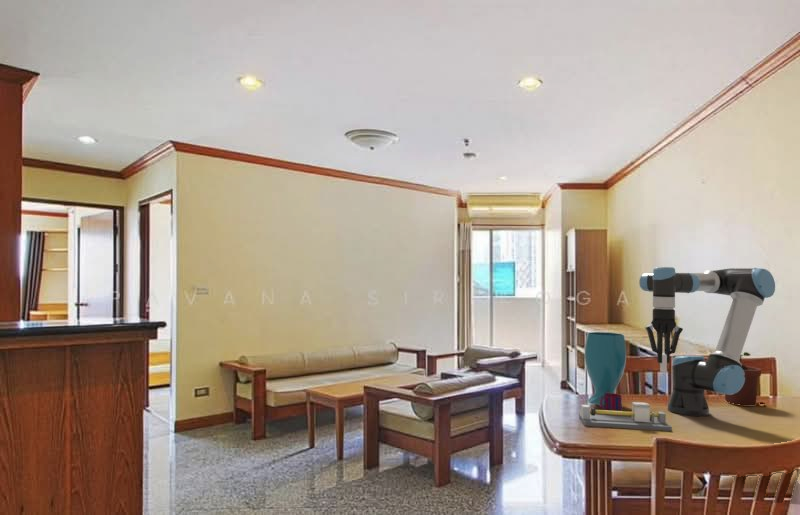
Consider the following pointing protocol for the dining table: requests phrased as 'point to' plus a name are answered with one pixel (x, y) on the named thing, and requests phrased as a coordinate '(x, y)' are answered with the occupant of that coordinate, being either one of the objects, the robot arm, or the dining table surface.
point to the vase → (604, 362)
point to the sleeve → (641, 411)
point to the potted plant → (746, 386)
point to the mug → (611, 402)
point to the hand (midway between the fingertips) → (663, 371)
